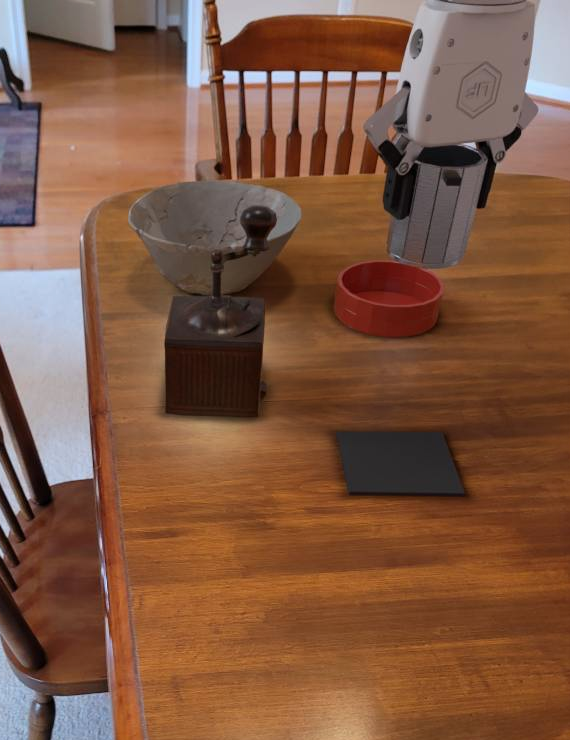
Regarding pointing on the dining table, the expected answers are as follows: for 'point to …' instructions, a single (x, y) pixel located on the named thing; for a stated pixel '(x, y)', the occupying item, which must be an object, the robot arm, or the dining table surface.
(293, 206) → the ceramic bowl
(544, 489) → the dining table surface
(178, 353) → the manual coffee grinder
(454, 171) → the steel pot
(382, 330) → the shallow red bowl
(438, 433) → the rubber mat
